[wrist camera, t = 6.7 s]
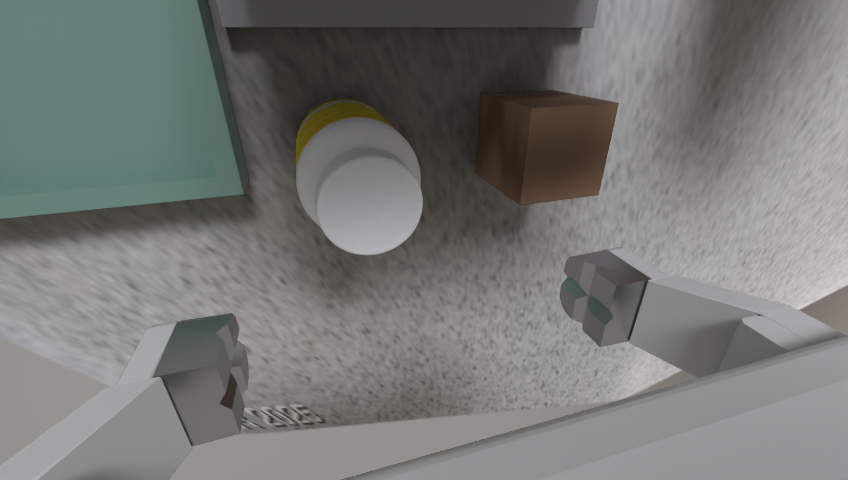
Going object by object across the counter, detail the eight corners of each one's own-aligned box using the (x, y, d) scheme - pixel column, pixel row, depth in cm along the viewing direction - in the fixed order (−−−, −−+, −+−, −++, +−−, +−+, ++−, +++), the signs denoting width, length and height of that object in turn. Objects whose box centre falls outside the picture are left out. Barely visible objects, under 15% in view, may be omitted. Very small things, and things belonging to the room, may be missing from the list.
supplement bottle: (273, 136, 21) (259, 199, 13) (351, 74, 21) (388, 98, 12) (337, 205, 24) (360, 294, 16) (406, 152, 24) (467, 214, 15)
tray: (-274, -169, 12) (-393, -212, 10) (178, -127, 16) (159, -154, 13) (-42, 205, 18) (-85, 227, 16) (248, 179, 22) (243, 194, 19)
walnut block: (480, 93, 23) (531, 108, 18) (551, 90, 25) (618, 103, 19) (475, 172, 26) (520, 205, 21) (541, 165, 27) (598, 194, 22)
